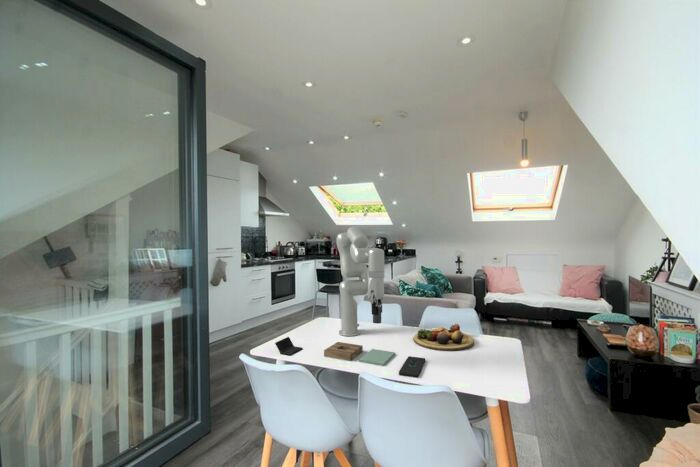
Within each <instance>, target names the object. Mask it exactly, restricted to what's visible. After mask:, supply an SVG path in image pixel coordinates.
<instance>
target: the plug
mask: <svg viewBox="0 0 700 467" xmlns="http://www.w3.org/2000/svg"><path fill="white" fill-rule="evenodd" d="M372 323H373V324H382V313H381V303H378V315H372Z"/></svg>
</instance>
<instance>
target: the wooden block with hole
mask: <svg viewBox="0 0 700 467" xmlns="http://www.w3.org/2000/svg"><path fill="white" fill-rule="evenodd" d="M363 350H364V349H363V345H361V344H356V343H355V344H354V343H347V342H342V341H337V342H336V343H334V344H332V345H330V346H329V347H327V348H325V349H324V350H323V357H326V358H332V359H335V360H336V359H337V360H341V361H349V362H351V361H353V359H355V358H356V357H357V356H359V355H360V354H361V353H363Z"/></svg>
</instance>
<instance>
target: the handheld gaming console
mask: <svg viewBox="0 0 700 467" xmlns="http://www.w3.org/2000/svg"><path fill="white" fill-rule="evenodd" d="M274 345H275V346H276V348H277V350H278V351H279V354H280V355H283V356H289V357H290V356H292V355H294V354H297V353H298V352H300V351H302V350H303V347H300V346H296V345H294V343H293V341H292V340H291V338H290V336H287V337H284V338H282V339H280V340H278V341H276V342H275V343H274Z"/></svg>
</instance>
